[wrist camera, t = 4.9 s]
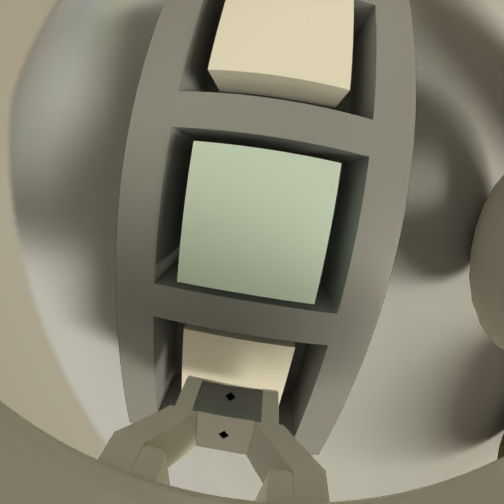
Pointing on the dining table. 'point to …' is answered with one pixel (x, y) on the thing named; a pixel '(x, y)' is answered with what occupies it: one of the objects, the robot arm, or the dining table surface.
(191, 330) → the key far
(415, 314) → the dining table surface
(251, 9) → the key near
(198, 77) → the keypad
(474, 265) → the donut
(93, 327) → the dining table surface
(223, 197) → the key mid
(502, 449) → the coconut
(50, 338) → the dining table surface
